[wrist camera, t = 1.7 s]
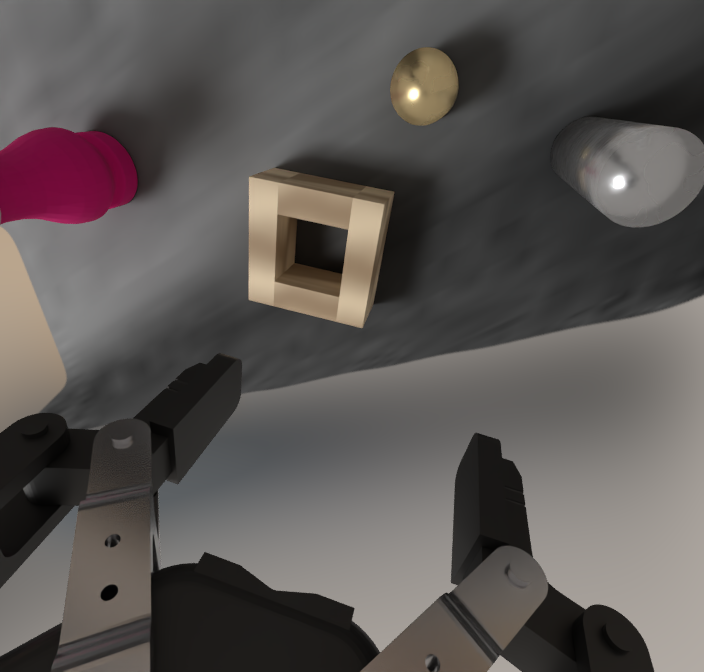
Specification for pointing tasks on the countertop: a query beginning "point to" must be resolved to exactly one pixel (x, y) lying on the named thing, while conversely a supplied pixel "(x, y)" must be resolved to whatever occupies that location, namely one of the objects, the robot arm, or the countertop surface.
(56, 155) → the pepper mill
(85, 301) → the countertop surface
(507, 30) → the countertop surface
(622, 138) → the long pin
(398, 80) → the short pin
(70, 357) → the countertop surface
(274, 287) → the socket block
